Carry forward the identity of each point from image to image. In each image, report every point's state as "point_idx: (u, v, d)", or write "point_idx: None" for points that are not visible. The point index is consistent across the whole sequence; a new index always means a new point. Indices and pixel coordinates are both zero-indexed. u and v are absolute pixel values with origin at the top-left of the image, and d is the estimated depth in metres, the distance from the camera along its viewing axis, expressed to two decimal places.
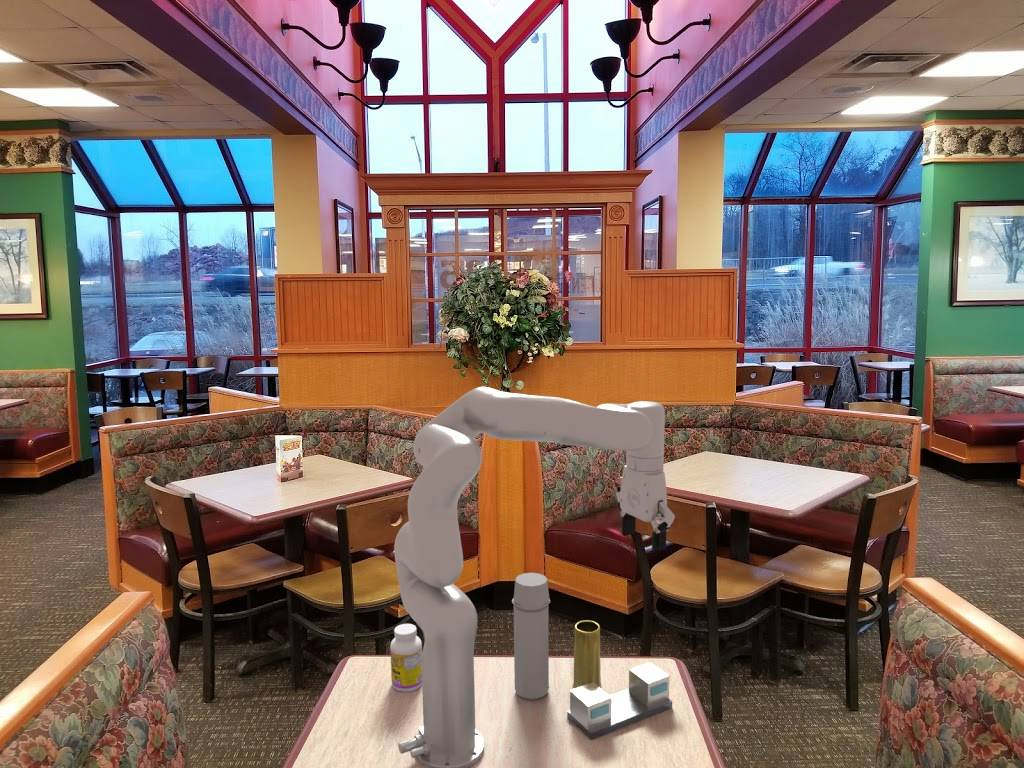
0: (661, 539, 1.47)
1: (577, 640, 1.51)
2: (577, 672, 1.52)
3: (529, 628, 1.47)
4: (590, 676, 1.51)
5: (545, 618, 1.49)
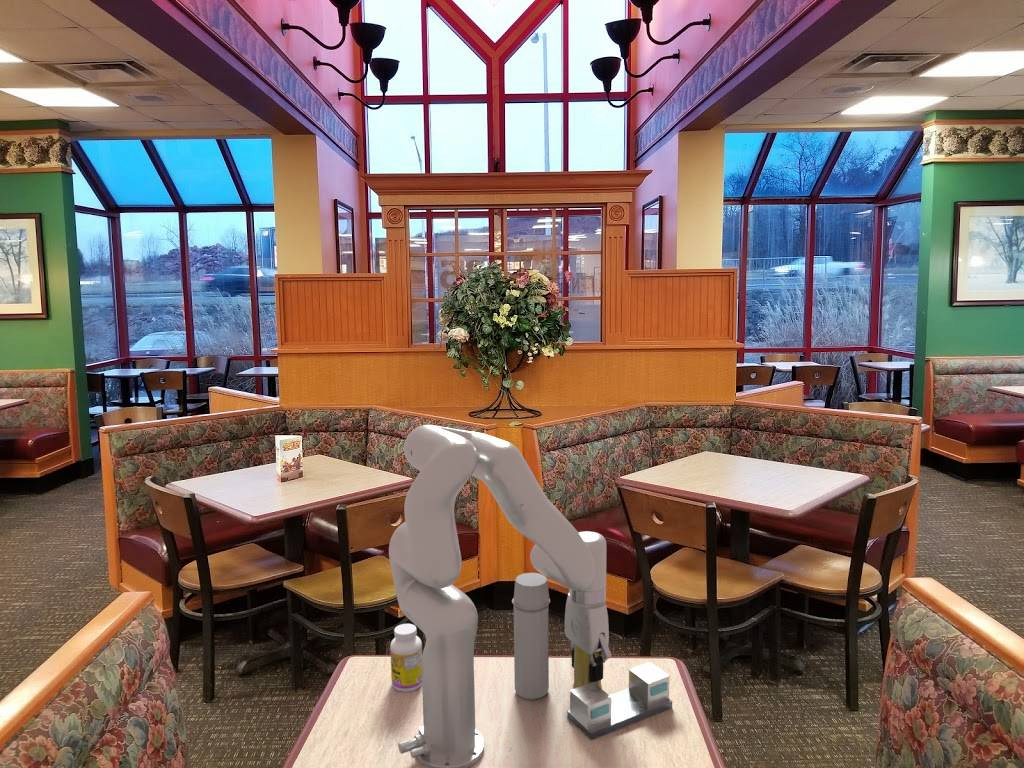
0: (597, 671, 1.49)
1: None
2: (578, 672, 1.52)
3: (529, 628, 1.47)
4: None
5: (545, 618, 1.49)
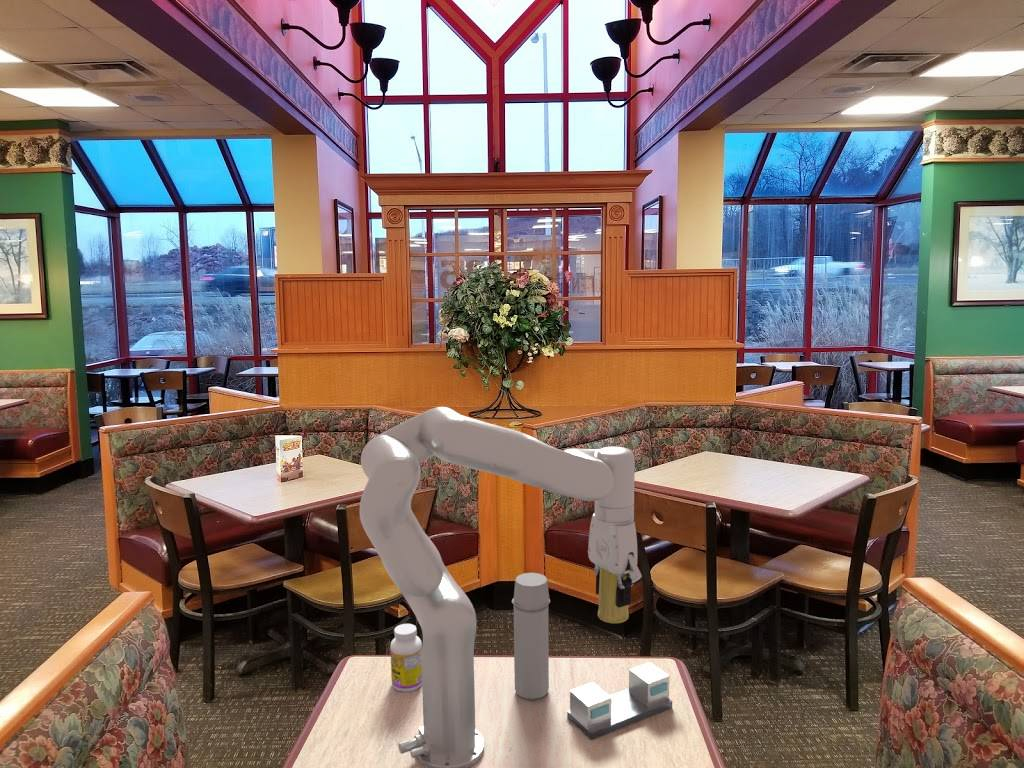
0: (625, 595, 1.40)
1: None
2: (604, 597, 1.42)
3: (529, 628, 1.47)
4: None
5: (545, 618, 1.49)
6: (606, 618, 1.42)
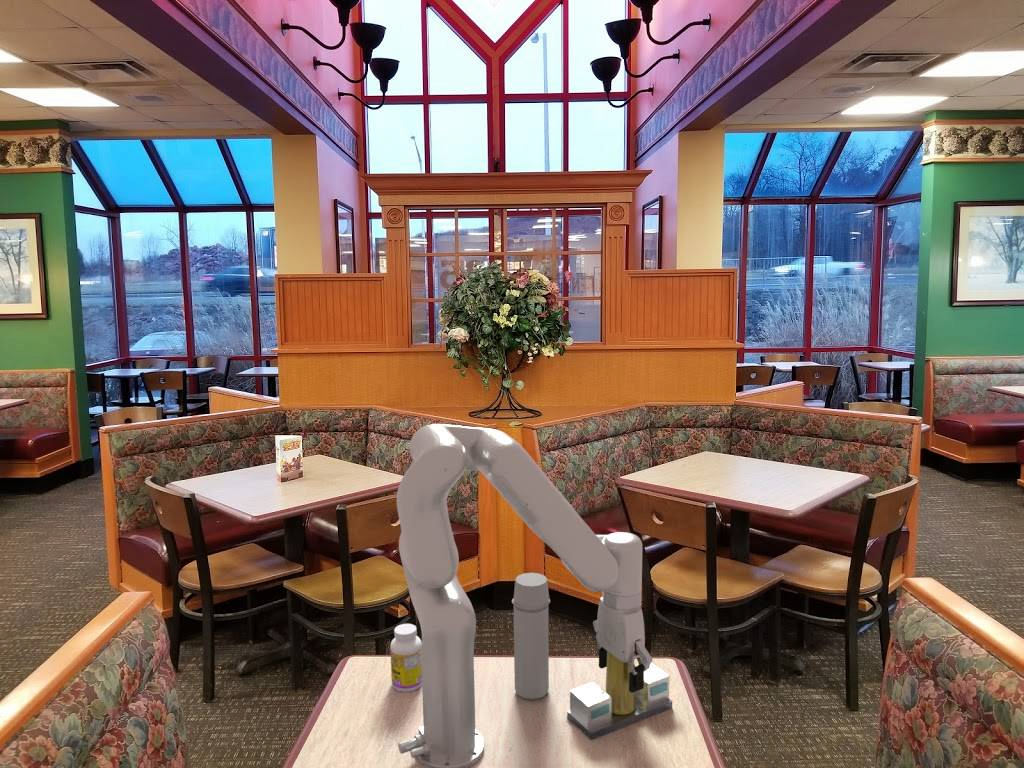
0: (638, 680, 1.39)
1: (610, 655, 1.42)
2: (610, 688, 1.43)
3: (529, 628, 1.47)
4: (623, 693, 1.42)
5: (545, 618, 1.49)
6: (612, 709, 1.43)
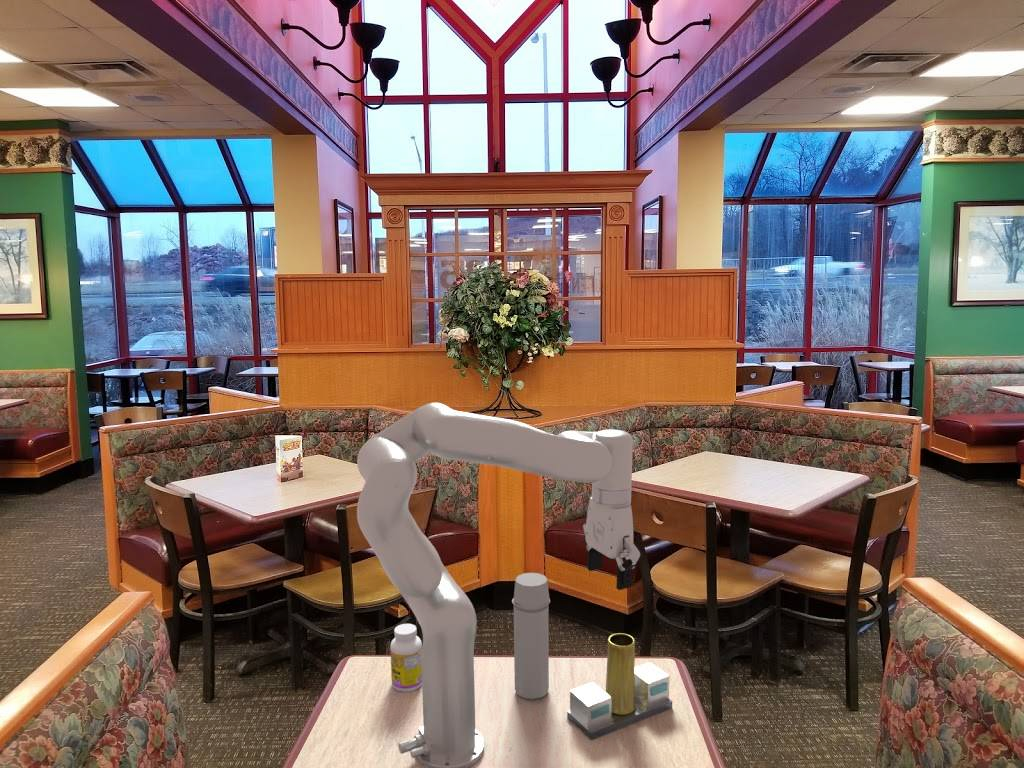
0: (626, 577, 1.38)
1: (610, 654, 1.42)
2: (610, 688, 1.43)
3: (529, 628, 1.47)
4: (623, 693, 1.42)
5: (545, 618, 1.49)
6: (612, 709, 1.43)
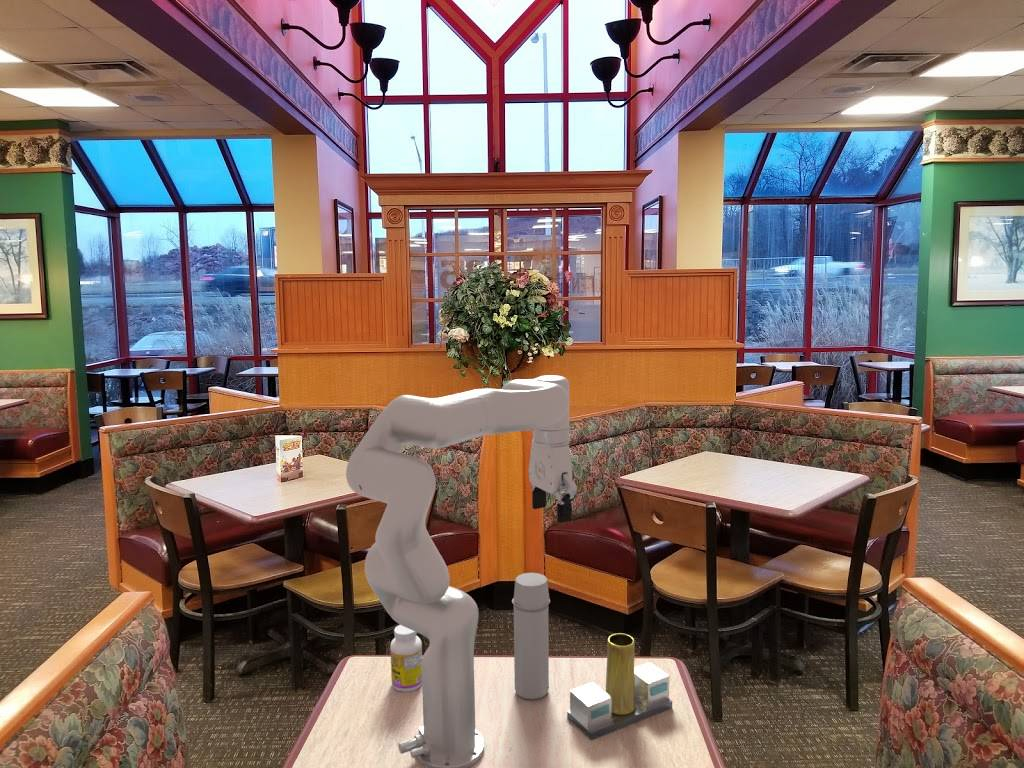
0: (565, 511, 1.49)
1: (610, 654, 1.42)
2: (610, 688, 1.43)
3: (529, 628, 1.47)
4: (623, 693, 1.42)
5: (545, 618, 1.49)
6: (612, 709, 1.43)
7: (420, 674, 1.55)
